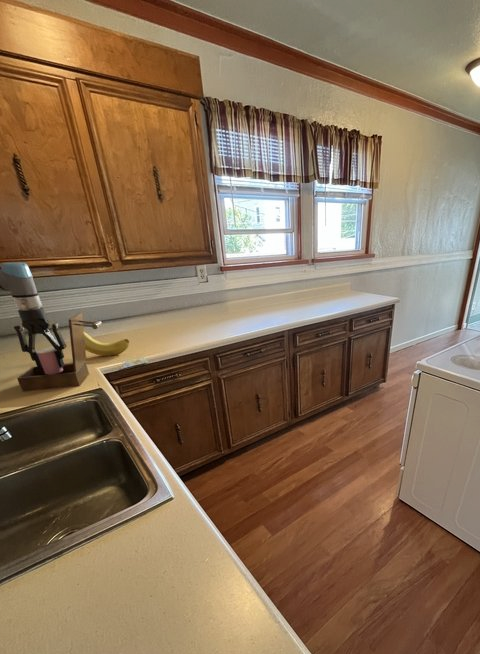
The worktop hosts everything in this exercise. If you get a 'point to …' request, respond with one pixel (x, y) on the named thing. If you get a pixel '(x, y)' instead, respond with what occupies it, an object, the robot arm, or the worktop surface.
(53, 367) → the liner stack
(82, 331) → the lid
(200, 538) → the worktop surface
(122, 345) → the banana
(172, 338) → the worktop surface
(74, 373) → the brown wooden box
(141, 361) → the baking ingredient package
